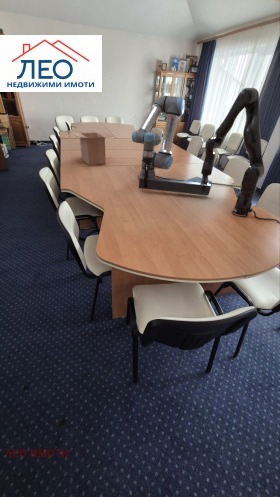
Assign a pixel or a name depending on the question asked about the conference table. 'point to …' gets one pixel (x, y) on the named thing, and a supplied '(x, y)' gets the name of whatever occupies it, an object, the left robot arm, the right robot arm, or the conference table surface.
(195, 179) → the book
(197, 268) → the conference table surface
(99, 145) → the box
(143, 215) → the conference table surface
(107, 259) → the conference table surface
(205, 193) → the bar
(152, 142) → the left robot arm
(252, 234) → the conference table surface
